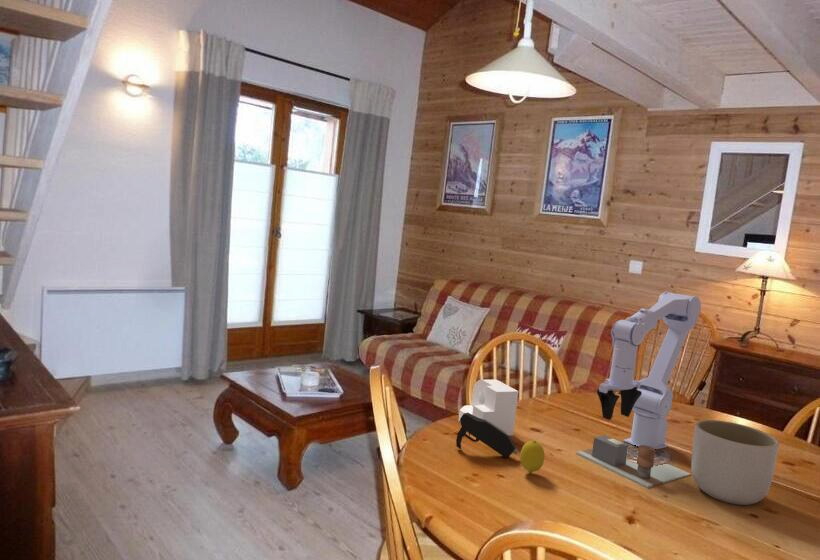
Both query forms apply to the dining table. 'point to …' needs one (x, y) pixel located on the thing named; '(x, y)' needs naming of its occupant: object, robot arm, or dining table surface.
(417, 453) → the dining table surface
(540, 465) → the lemon
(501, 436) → the gun
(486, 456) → the dining table surface
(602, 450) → the block
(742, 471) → the planter
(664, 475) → the panel
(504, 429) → the tape dispenser
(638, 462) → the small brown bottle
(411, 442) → the dining table surface
